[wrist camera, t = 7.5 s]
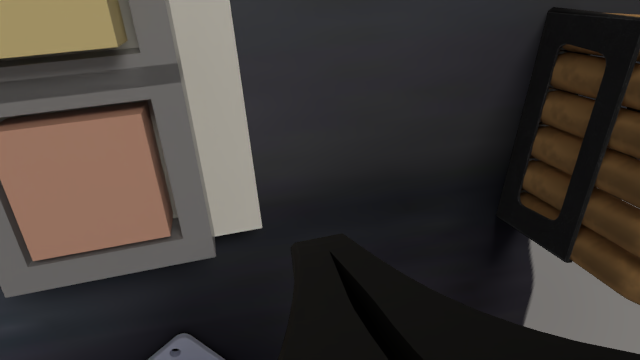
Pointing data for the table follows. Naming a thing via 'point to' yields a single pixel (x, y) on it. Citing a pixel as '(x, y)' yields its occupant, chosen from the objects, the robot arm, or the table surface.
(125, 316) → the table surface
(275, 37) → the table surface
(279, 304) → the table surface
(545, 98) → the ammunition clip
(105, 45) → the ochre key
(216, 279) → the table surface
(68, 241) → the terracotta key
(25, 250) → the button pad
